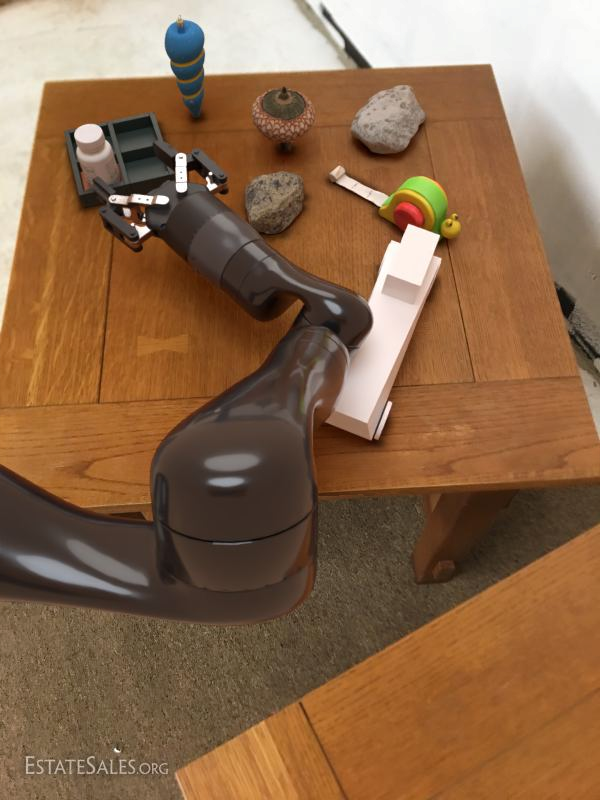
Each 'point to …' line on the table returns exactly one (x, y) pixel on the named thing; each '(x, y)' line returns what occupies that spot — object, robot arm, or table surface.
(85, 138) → the pill bottle
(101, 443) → the table surface
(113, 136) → the compartment tray
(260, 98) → the acorn
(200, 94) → the ornament
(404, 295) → the toy truck
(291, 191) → the rock
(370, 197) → the toy measuring tape
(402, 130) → the decorative stone
